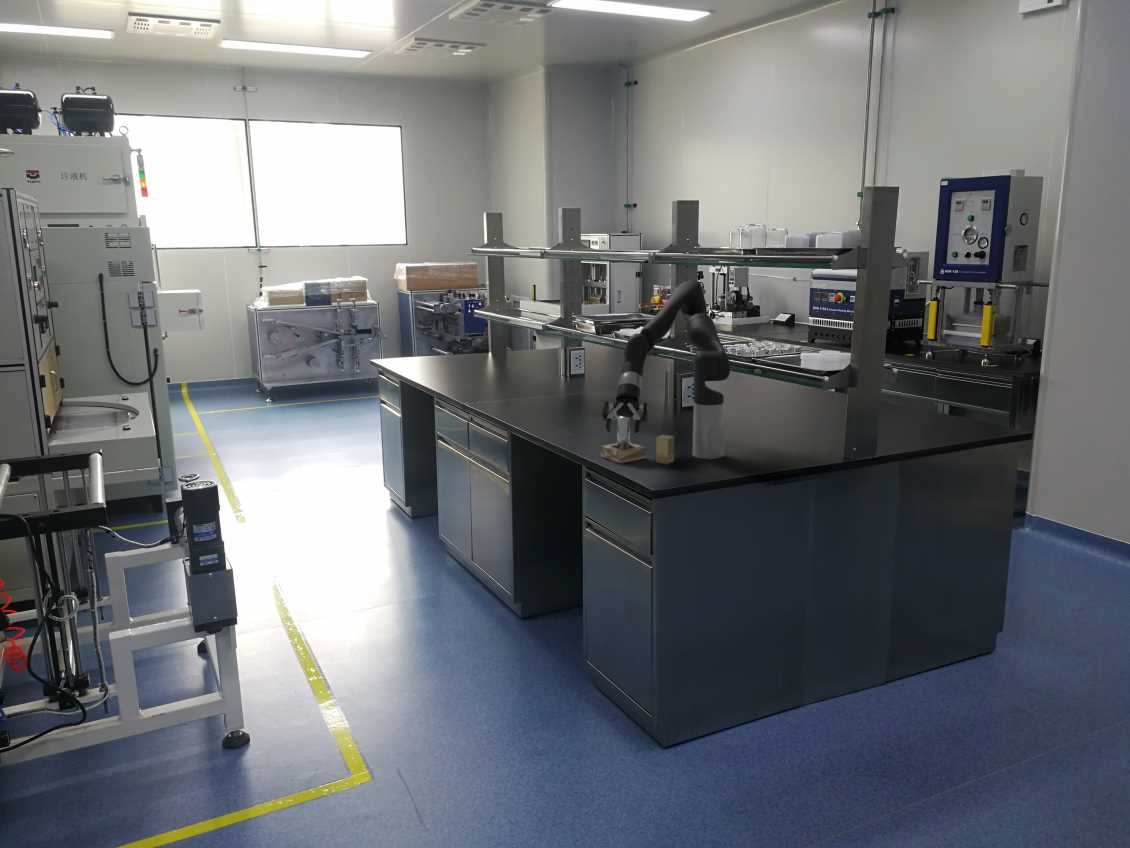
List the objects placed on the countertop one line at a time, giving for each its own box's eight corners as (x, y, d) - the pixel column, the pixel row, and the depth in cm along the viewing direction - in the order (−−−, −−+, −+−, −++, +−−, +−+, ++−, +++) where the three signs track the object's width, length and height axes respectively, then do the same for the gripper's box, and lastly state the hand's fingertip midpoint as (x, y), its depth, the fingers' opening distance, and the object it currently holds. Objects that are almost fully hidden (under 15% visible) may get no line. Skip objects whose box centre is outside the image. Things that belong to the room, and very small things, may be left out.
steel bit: (632, 454, 268) (632, 416, 266) (622, 456, 266) (622, 418, 263) (624, 451, 271) (624, 414, 269) (614, 453, 269) (614, 416, 267)
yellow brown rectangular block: (673, 461, 264) (674, 436, 262) (667, 464, 260) (668, 438, 259) (662, 459, 266) (662, 434, 264) (656, 462, 263) (656, 437, 261)
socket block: (645, 458, 268) (645, 447, 267) (620, 463, 262) (620, 452, 261) (625, 451, 276) (625, 441, 275) (600, 456, 270) (600, 445, 269)
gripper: (652, 396, 275) (646, 439, 267) (609, 394, 279) (601, 436, 271) (650, 383, 269) (643, 426, 261) (606, 381, 273) (598, 424, 264)
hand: (622, 431), depth 266 cm, fingers open, 8 cm apart
